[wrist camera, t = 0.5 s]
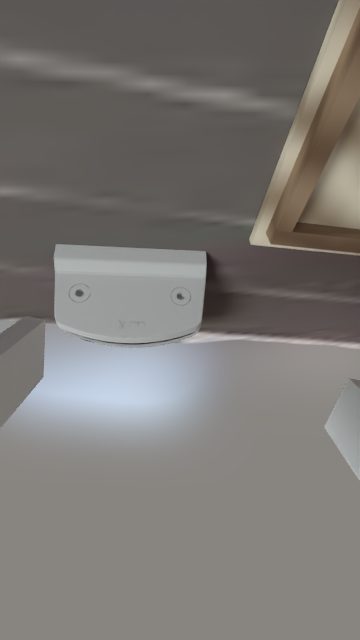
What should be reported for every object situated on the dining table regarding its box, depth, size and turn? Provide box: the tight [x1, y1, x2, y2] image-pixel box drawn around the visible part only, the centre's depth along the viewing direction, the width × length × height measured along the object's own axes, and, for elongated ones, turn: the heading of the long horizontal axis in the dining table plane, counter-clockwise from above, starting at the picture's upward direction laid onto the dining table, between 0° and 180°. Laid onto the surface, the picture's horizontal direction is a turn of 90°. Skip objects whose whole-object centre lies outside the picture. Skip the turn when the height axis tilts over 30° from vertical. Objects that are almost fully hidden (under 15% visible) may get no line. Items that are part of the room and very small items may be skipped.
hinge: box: [54, 244, 207, 347], centre depth 30 cm, size 17×5×10 cm, turn 85°
